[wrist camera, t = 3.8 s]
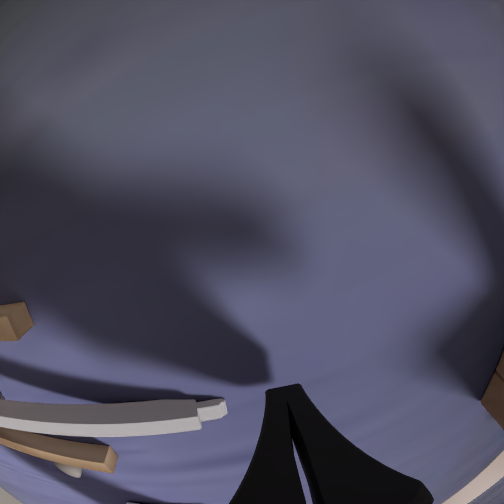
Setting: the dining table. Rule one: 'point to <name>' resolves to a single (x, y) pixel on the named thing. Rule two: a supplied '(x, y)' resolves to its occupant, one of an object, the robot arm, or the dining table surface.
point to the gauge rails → (57, 450)
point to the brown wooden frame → (496, 394)
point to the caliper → (110, 417)
